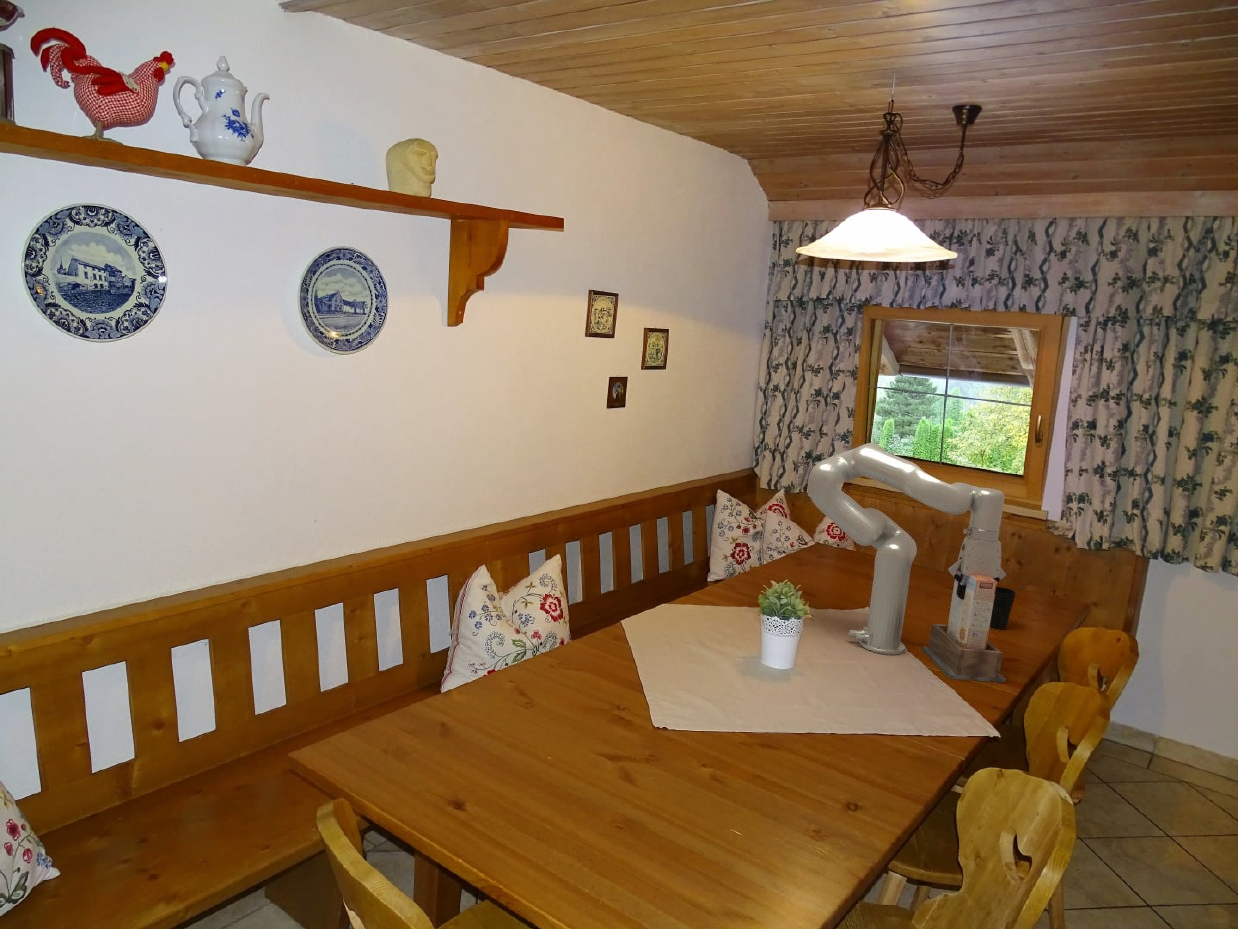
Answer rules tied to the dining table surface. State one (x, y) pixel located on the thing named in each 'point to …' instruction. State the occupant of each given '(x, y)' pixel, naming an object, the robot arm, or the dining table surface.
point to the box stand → (963, 658)
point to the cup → (1002, 607)
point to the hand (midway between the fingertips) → (972, 598)
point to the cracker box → (972, 612)
